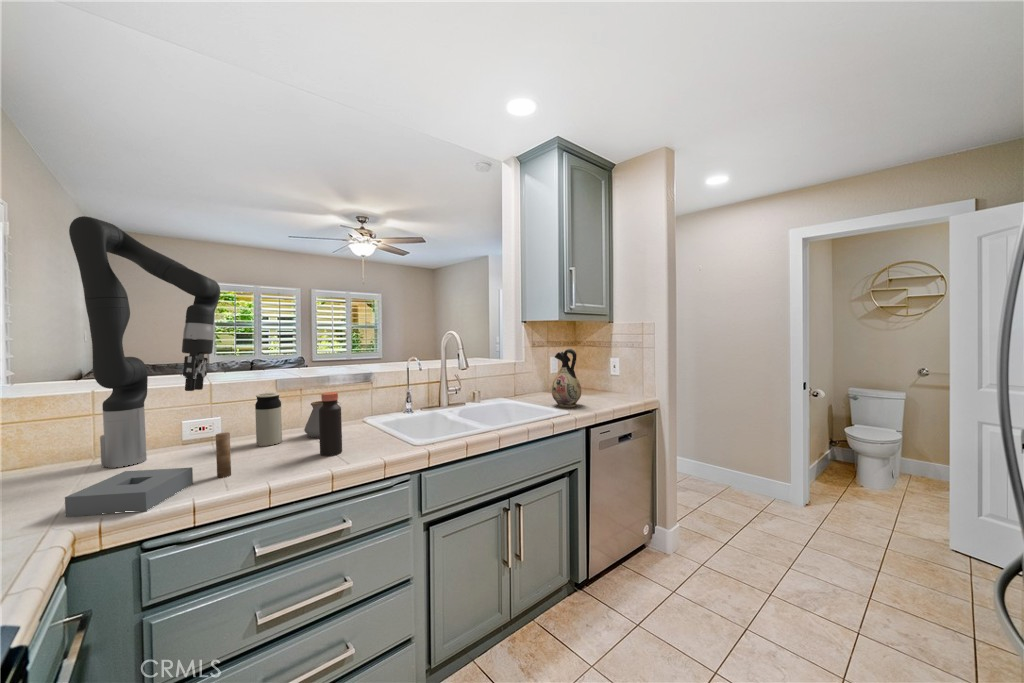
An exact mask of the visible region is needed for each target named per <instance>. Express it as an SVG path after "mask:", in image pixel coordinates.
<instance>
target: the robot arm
mask: <svg viewBox="0 0 1024 683" xmlns="http://www.w3.org/2000/svg"><path fill="white" fill-rule="evenodd" d="M68 228H69V230H68V235H69V240H70V242H71V245H72V248H73V251H74V255H75V258H76V260H77V265H78V269H79V273H80V279H81V283H82V287H83V289H82V290H83V296H84V303H85V308H86V309H85V310H86V313H87V317H88V323H89V324H88V325H89V331H90V337H91V346H92V348H91V349H92V373H93V377H94V380H95V382H96V383H97V384H98V385H99V386H101V387H102V388H105V389H109V390H110V389H112V392H111V394H110V395H109V396H108V397H107V398H106V399H105V400H103V402H102V405H101V407H102V422H103V434H102V435H100V436H99V443H100V444H99V445H100V447H99V448H100V462H101V464H100V466H101V468H103V467H102V466H105V467H104V468H107V467H108V468H107V469H116V467H118V468H122V467H123V466H125V467H129V466H128V465H130V466H134V465H138V464H141V463H143V461H144V462H146V461H147V437H146V416H145V415H146V414H145V401H146V398H147V397H148V379H149V378H148V369H147V366H146V364H145V362H144V361H143V360H142V359H140V358H138V357H135V356H125V353H124V352H125V351H124V346H123V338H124V335H125V332H126V329H127V327H128V323H129V321H130V318H131V308H130V302H129V297H128V292H127V291H126V288H125V287H124V285H123V284H122V282H121V281H120V279H119V278H118V276H117V275H116V273H115V272H114V270H113V269H112V267H111V265H110V262H109V258H108V253H109V254H112V255H116V256H119V257H122V258H124V259H127V260H129V261H131V262H133V263H134V264H136V265H137V266H138V267H140V268H141V269H143V270H144V271H145V272H147V273H148V274H150V275H152V276H154V277H156V278H158V279H160V280H162V281H163V282H166V283H168V284H169V285H172V286H174V287H176V288H178V289H180V290H181V291H183V292H185V293H186V294H188V295H190V296H193V297H194V300H193V303H192V305H189V306H187V308H186V312H185V320H184V321H185V323H184V327H183V332H182V346H181V352H182V353H183V354H189V355H185V356H184V360H183V370H182V376H183V377H184V379H185V381H184V382H185V385H184V390H185V392H194V391H197V390H201V391H202V390H203V389H204V379H205V377H206V376H207V375H208V372H207V371H208V360H209V359H208V357H205V355H211V354H212V353H213V350H214V348H213V347H214V335H215V334H214V333H215V331H214V327H215V325H214V323H215V313H216V312H215V311H216V310H217V306H218V304H219V301H220V297H221V287H220V284H219V282H217V281H216V280H214V279H212V278H211V277H207V276H206V275H204V274H202V273H199V272H197V271H195V270H193V269H191V268H188V267H187V266H185V264H182V263H181V262H179V261H177V260H174V259H173V258H170V257H169V256H166V255H164V254H163V253H160V252H158V251H156V250H154V249H152V248H150V247H148V246H147V245H145V244H143V243H141V242H140V241H138V240H136V239H135V238H134V237H132V236H131V235H129V234H128V233H126V232H125V231H124V230H122V229H121V228H119V227H118V226H116V225H115V224H113V223H111V222H107V221H105V220H101V219H98V218H94V217H91V216H86V215H85V216H78V217H76V218H74V219H73V220H72V221H71V222H70V225H69V227H68ZM137 463H138V464H137ZM133 464H134V465H133Z"/></svg>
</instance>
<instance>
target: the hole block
mask: <svg viewBox="0 0 1024 683" xmlns="http://www.w3.org/2000/svg"><path fill="white" fill-rule="evenodd" d="M193 477H194V475H193V467H191V466H190V467H177V468H176V467H175V468H157V469H141V470H124V471H122V472H120V473H116V475H112V476H110V477H108V478H106V479H104V480H102V481H99V482H97V483H94V484H92V485H90V486H87V487H85V488H83V489H81V490H78V491H75V492H73V493H71V494H69V495H67V496H64V508H65V510H64V511H65V517H66V518H72V517H73V516H74V517H86V516H87V515H88V516H97V515H96V514H102V513H115V512H125V511H146V512H148V511H149V510H148V509H150V508H152V507H153V506H155V505H157V504H158V505H160V504H161V503H160V502H162V501H163V502H165V501H166V500H165V499H167V498H168V499H170V498H172V497H173V496H175V495H176V494H175V493H177V492H179V491H180V492H182V491H183V490H182V489H184V488H185V489H187V488H188V486H189V485H190V486H192V485H194V478H193ZM191 484H192V485H191ZM190 486H189V487H190ZM186 487H187V488H186ZM185 489H184V490H185ZM181 490H182V491H181ZM180 492H179V493H180ZM174 494H175V495H174ZM177 494H178V493H177ZM172 495H173V496H172ZM171 496H172V497H171ZM169 497H170V498H169ZM168 499H167V500H168ZM164 500H165V501H164ZM163 502H162V503H163ZM159 503H160V504H159ZM158 505H157V506H158ZM155 507H156V506H155ZM153 508H154V507H153ZM153 508H152V509H153ZM147 510H148V511H147ZM150 510H151V509H150ZM84 515H86V516H84ZM74 517H73V518H74Z"/></svg>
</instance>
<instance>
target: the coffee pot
mask: <svg viewBox="0 0 1024 683" xmlns="http://www.w3.org/2000/svg"><path fill="white" fill-rule="evenodd" d="M337 404H340V402H339V401H337ZM322 405H323V402H322V400H319V401H318V400H317V401H313V402H312V401H311V403H310V406H312V410H311V412H310V413H309V416H308V420H307V422H306V424H305V427H304V429H303V430H304V433H305V434H307V435H308V436H309V437H310V436H311V438H314V437H317V438H319V409H320V407H321V406H322Z"/></svg>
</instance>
